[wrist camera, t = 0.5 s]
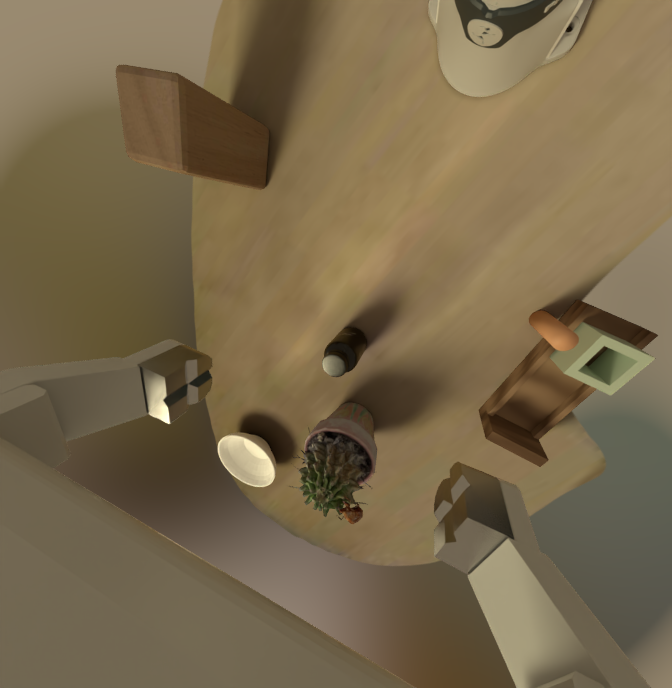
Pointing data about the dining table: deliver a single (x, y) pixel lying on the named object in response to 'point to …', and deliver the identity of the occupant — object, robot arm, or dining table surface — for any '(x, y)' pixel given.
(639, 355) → the socket block
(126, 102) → the block
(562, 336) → the dowel
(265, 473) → the bowl
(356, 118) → the dining table surface
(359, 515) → the potted plant
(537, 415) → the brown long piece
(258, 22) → the dining table surface
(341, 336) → the supplement bottle
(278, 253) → the dining table surface
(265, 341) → the dining table surface
